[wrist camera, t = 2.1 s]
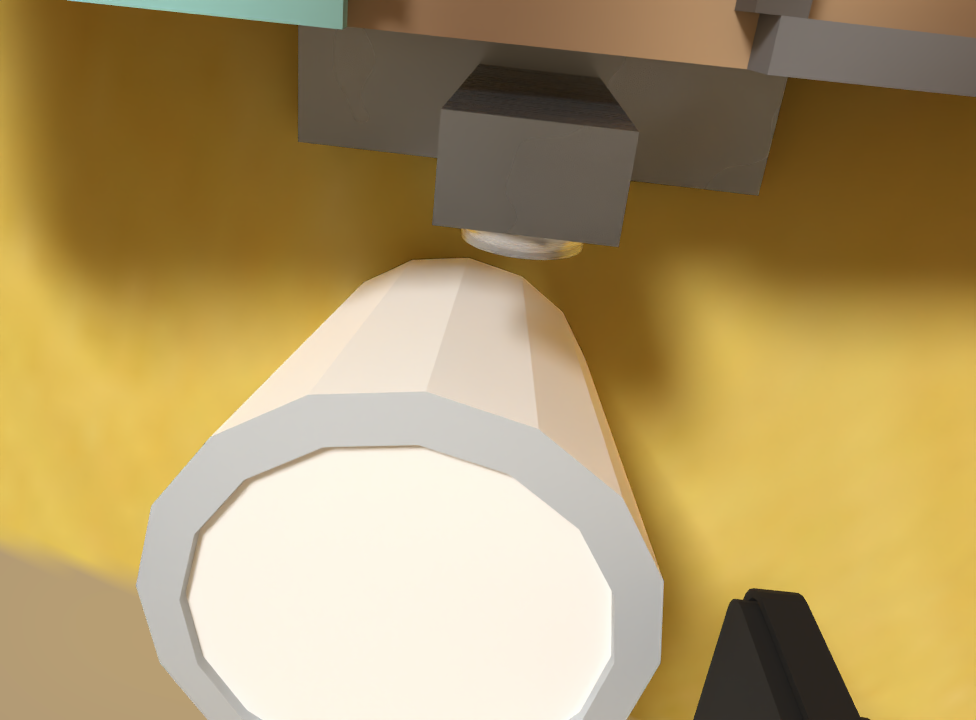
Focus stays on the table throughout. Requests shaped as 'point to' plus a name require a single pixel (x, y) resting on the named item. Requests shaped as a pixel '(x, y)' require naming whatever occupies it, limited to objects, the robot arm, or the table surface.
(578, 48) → the balance beam board
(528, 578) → the cup of milk
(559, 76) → the pivot stand
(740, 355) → the table surface
